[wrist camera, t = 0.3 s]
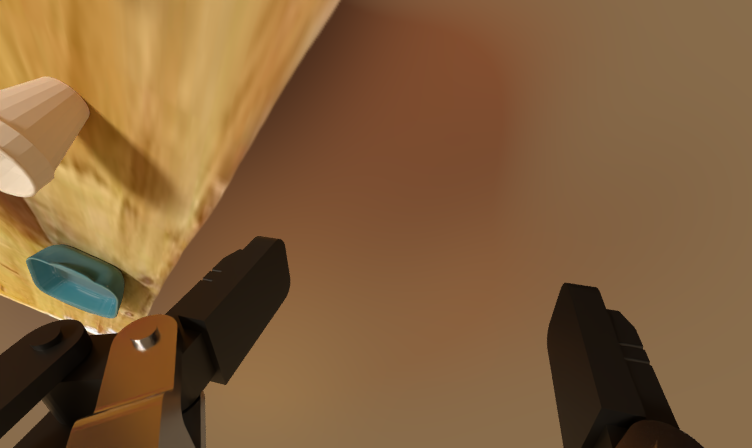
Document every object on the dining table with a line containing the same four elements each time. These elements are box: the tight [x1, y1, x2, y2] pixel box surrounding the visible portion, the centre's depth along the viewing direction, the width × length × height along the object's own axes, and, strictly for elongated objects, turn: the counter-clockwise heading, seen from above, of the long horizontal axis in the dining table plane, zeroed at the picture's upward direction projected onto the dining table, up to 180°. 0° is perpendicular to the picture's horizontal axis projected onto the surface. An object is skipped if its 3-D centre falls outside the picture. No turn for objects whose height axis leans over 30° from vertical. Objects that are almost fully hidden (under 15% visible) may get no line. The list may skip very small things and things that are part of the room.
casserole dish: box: [26, 245, 124, 318], centre depth 103 cm, size 37×22×7 cm, turn 146°
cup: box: [0, 77, 90, 197], centre depth 49 cm, size 12×12×14 cm
